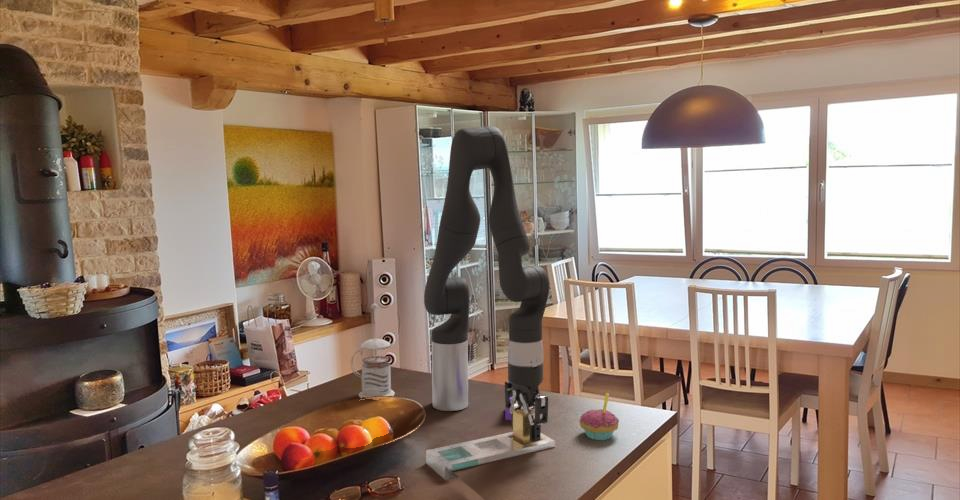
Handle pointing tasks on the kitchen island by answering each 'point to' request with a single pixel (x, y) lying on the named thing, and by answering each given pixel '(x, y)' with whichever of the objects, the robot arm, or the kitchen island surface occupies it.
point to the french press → (375, 368)
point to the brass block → (521, 427)
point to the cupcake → (599, 422)
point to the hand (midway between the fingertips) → (525, 435)
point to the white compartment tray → (480, 452)
